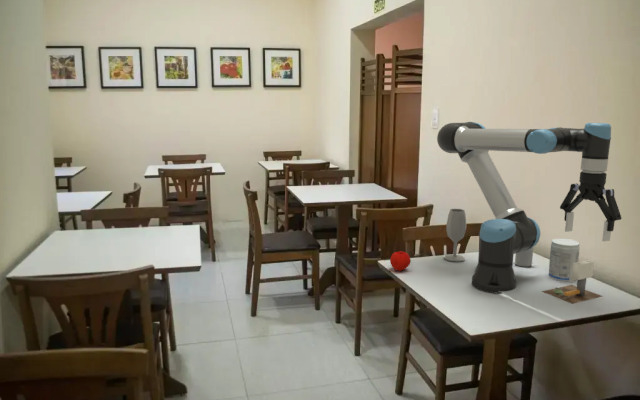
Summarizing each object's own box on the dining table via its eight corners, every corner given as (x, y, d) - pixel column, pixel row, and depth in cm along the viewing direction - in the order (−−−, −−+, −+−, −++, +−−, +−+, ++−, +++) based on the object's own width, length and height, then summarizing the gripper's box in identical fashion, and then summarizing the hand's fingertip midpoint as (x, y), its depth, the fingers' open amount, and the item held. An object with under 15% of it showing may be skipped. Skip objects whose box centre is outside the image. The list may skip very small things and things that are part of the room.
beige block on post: (568, 298, 168) (572, 266, 166) (562, 296, 171) (565, 264, 169) (592, 293, 173) (596, 261, 171) (585, 290, 176) (588, 259, 174)
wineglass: (467, 262, 210) (470, 212, 206) (446, 262, 210) (449, 212, 206) (462, 256, 219) (465, 207, 215) (441, 256, 219) (444, 207, 215)
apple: (405, 274, 195) (406, 256, 193) (386, 271, 199) (387, 252, 197) (413, 269, 202) (413, 250, 200) (394, 265, 205) (394, 247, 204)
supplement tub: (562, 274, 197) (565, 237, 194) (582, 282, 188) (586, 243, 185) (542, 277, 193) (545, 239, 190) (561, 285, 184) (565, 246, 182)
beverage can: (533, 268, 204) (535, 238, 202) (516, 266, 205) (518, 237, 203) (530, 263, 210) (532, 234, 208) (513, 262, 211) (515, 233, 209)
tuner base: (572, 306, 165) (572, 301, 165) (541, 294, 176) (541, 289, 176) (602, 299, 172) (603, 294, 172) (571, 287, 183) (571, 283, 182)
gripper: (639, 175, 156) (631, 243, 160) (567, 166, 178) (561, 226, 182) (623, 177, 152) (615, 246, 156) (552, 167, 174) (546, 228, 178)
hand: (586, 235), depth 169 cm, fingers open, 13 cm apart
